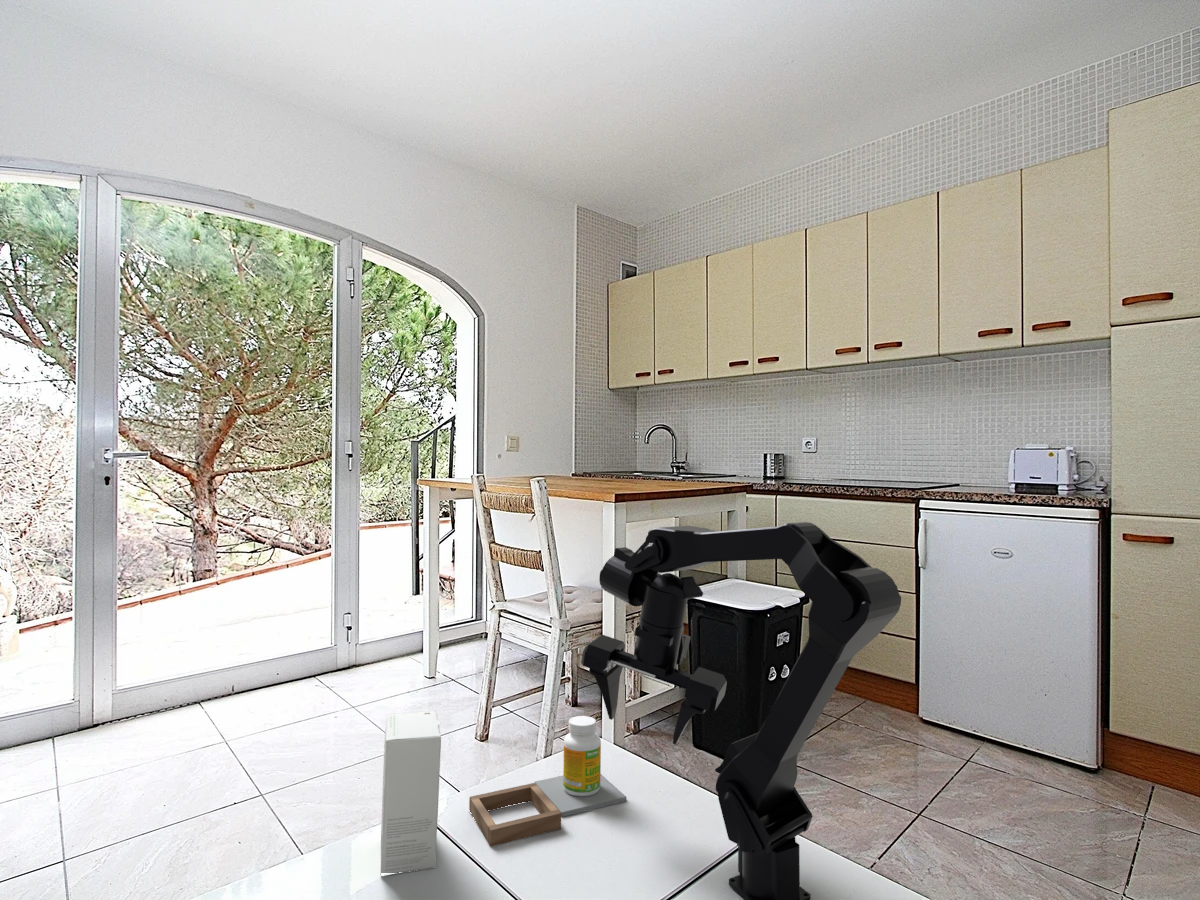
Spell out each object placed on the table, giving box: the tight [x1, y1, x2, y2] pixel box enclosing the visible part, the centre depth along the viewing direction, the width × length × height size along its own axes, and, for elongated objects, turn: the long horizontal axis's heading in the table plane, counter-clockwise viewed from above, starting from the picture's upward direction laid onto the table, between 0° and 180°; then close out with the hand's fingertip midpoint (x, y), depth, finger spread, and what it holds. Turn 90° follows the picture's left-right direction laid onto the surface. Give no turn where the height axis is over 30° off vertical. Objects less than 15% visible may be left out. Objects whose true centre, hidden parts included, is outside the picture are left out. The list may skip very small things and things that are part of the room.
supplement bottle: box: [562, 715, 602, 796], centre depth 95 cm, size 5×5×10 cm
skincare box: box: [380, 710, 442, 874], centre depth 79 cm, size 8×7×16 cm
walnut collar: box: [468, 782, 562, 848], centre depth 87 cm, size 10×10×2 cm
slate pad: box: [534, 773, 627, 818], centre depth 95 cm, size 10×10×1 cm
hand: (642, 730), depth 88 cm, fingers open, 9 cm apart
